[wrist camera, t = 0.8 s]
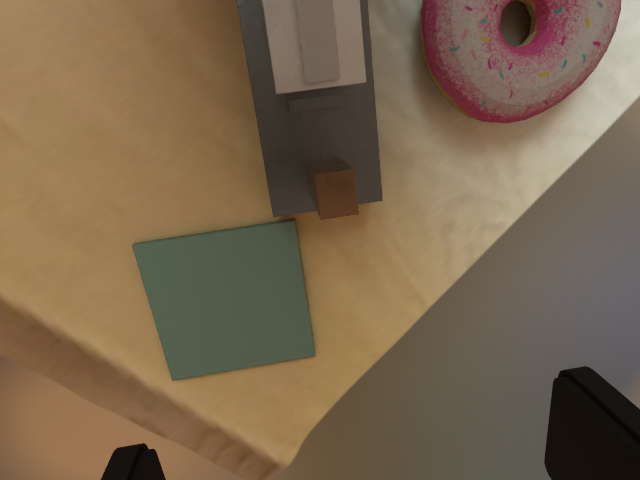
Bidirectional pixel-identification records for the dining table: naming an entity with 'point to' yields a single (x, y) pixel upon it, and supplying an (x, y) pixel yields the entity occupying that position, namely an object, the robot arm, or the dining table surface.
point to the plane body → (313, 132)
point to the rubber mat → (227, 298)
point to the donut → (513, 53)
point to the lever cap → (314, 44)
